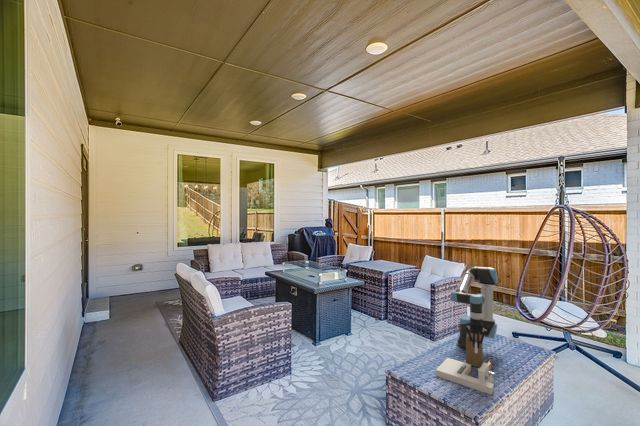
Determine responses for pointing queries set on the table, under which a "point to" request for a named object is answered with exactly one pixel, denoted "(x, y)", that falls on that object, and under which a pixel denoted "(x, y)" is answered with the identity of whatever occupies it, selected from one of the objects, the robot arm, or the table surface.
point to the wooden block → (473, 352)
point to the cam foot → (489, 373)
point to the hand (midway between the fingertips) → (476, 352)
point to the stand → (465, 375)
